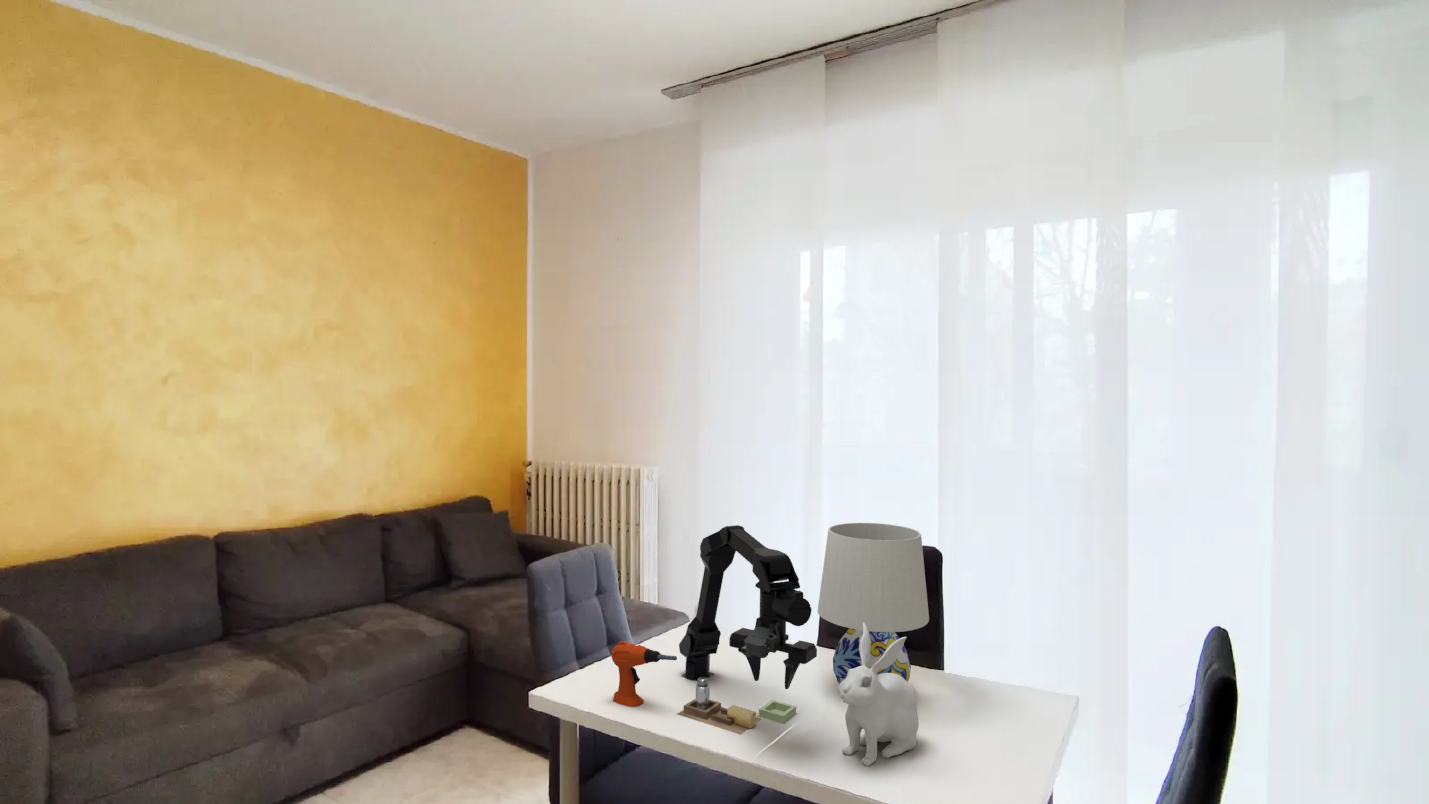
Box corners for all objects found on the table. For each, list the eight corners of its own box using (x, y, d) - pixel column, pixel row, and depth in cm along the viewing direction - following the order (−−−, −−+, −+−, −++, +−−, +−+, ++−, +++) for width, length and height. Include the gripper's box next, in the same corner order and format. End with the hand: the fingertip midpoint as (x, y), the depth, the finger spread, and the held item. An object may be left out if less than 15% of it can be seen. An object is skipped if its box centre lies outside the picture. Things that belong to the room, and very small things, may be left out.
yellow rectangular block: (732, 717, 165) (733, 705, 165) (755, 724, 161) (756, 711, 161) (727, 721, 163) (727, 708, 163) (750, 728, 159) (750, 715, 159)
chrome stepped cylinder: (700, 707, 170) (700, 675, 170) (712, 710, 168) (712, 678, 168) (692, 712, 167) (693, 679, 167) (704, 715, 166) (704, 682, 165)
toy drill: (675, 716, 163) (669, 648, 164) (609, 707, 172) (603, 643, 173) (687, 708, 167) (681, 642, 168) (621, 700, 177) (616, 637, 177)
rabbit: (821, 753, 150) (823, 632, 150) (885, 726, 163) (888, 615, 163) (864, 777, 141) (866, 649, 141) (929, 747, 154) (932, 629, 154)
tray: (771, 708, 171) (771, 698, 171) (798, 715, 168) (798, 706, 168) (756, 719, 166) (756, 709, 166) (784, 727, 162) (784, 717, 162)
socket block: (699, 702, 174) (699, 693, 174) (761, 721, 164) (761, 711, 164) (676, 716, 166) (676, 707, 166) (740, 737, 157) (740, 727, 157)
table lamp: (888, 665, 199) (891, 519, 199) (950, 707, 174) (954, 539, 173) (798, 676, 191) (800, 523, 190) (848, 721, 165) (852, 545, 164)
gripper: (716, 614, 156) (715, 686, 156) (794, 630, 145) (793, 708, 146) (743, 601, 165) (742, 670, 165) (818, 616, 155) (817, 690, 155)
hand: (771, 684), depth 158 cm, fingers open, 7 cm apart
